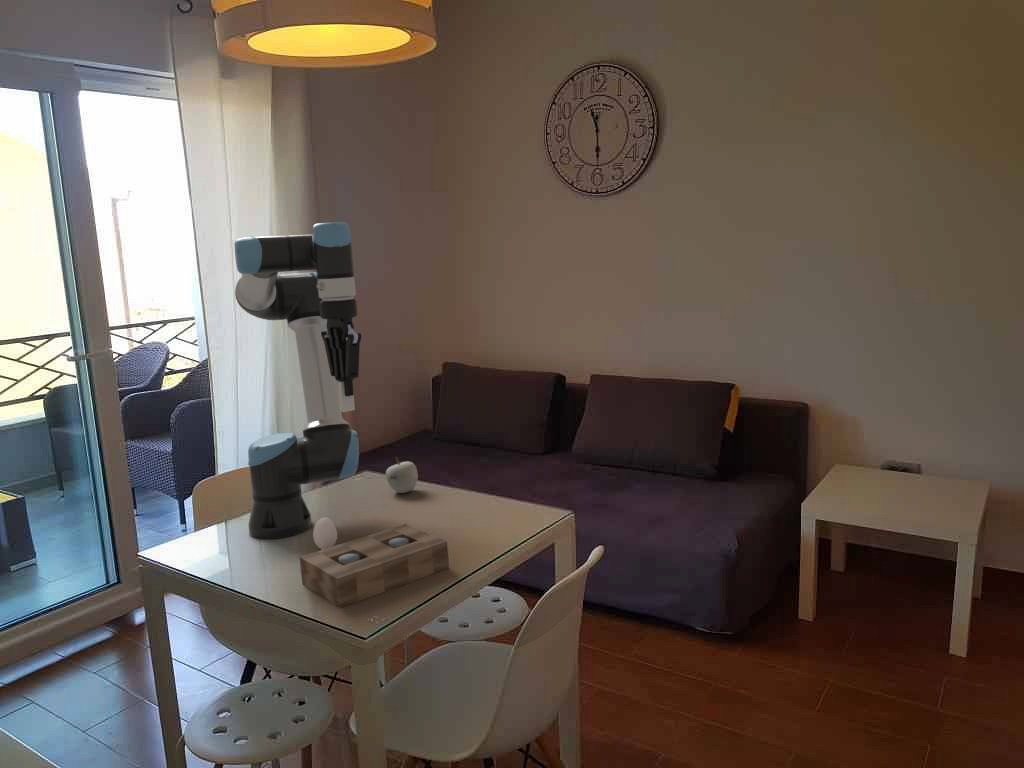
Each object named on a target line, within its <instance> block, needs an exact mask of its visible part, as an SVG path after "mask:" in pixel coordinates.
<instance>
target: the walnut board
mask: <svg viewBox="0 0 1024 768" xmlns="http://www.w3.org/2000/svg"><path fill="white" fill-rule="evenodd" d="M395 538H406V539H408V541H409V544H407V545H403V546H400V547H397V548H392V547H390V546H389V541H390V540H392V539H395ZM345 554H358V555H359V558H360V560H358V561H355V562H352V563H349V564H346V565H341V564H339V557H340V556H342V555H345ZM299 564H300V574H301V583H302V585H303V586H305V587H306V588H308V589H309V590H311V591H313V592H314V593H316V594H317V595H319V596H321V597H322V598H323V599H326V600H327V601H329V602H330V603H331V604H333V605H335V606H337V608H339V609H341V608H344V607H346V606H349V605H351V604H355V603H357V602H360V601H363V600H366V599H368V598H371V597H374V596H376V595H378V594H382V593H384V592H388V591H389V590H392V589H395V588H396V589H397V588H399V587H401V586H404V585H406V584H409V583H412V582H414V581H417V580H420V579H423V578H425V577H428V576H431V575H434V574H437V573H439V572H442V571H445V570H447V569H450V563H449V547H448V541H447V540H445V539H442V538H440V537H438V536H435V535H433V534H431V533H428V532H426V531H423V530H421V529H419V528H416V527H413V526H412V525H409V524H407V523H404V524H401V525H397V526H394V527H391V528H388V529H385V530H382V531H381V530H380V531H378V532H375V533H372V534H369V535H365V536H363V537H359V538H356V539H353V540H349V541H346V542H344V543H340V544H335V545H334V546H333V547H330V548H327V549H323V550H322V549H319V550H317V551H314V552H310V553H308V554H304V555H301V556H299Z"/></svg>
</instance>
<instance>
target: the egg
mask: <svg viewBox="0 0 1024 768" xmlns="http://www.w3.org/2000/svg"><path fill="white" fill-rule="evenodd" d="M312 537H313V541H314V543H315V545H316V547H317V548H319V550H323V549H327V548H330V547H333V546H335V545H336V542H337V541H338V531H337V528H336V525H335V523H334V522H333V521H332V520H331V519H330V518H329V517H321V518H319V519H318V520H317V521H316V523H315V524H314V527H313V532H312Z"/></svg>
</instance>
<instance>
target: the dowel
mask: <svg viewBox="0 0 1024 768" xmlns="http://www.w3.org/2000/svg"><path fill="white" fill-rule="evenodd" d="M358 560H360V558H359V555H358V554H345V555H342V556H340V557H339V564H341V565H346V564H349V563H352V562H355V561H358Z"/></svg>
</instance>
